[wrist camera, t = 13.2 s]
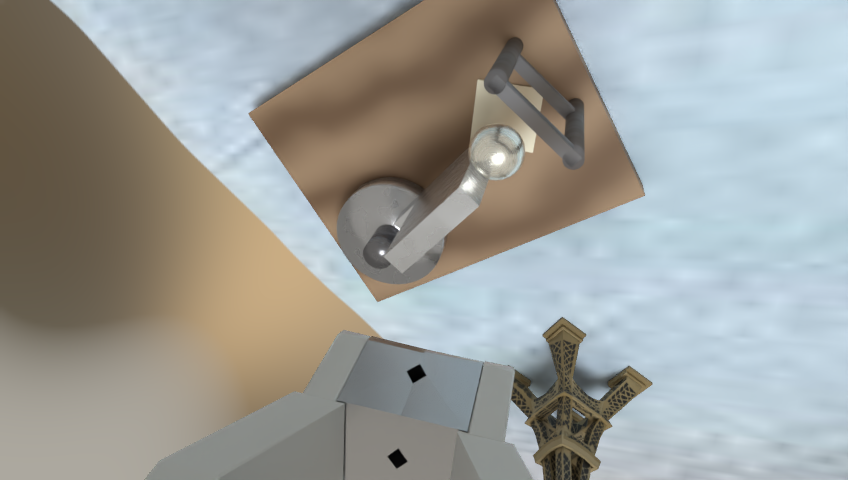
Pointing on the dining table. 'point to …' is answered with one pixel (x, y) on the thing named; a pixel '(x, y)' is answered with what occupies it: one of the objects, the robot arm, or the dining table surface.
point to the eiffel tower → (570, 433)
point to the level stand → (457, 123)
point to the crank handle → (423, 209)
